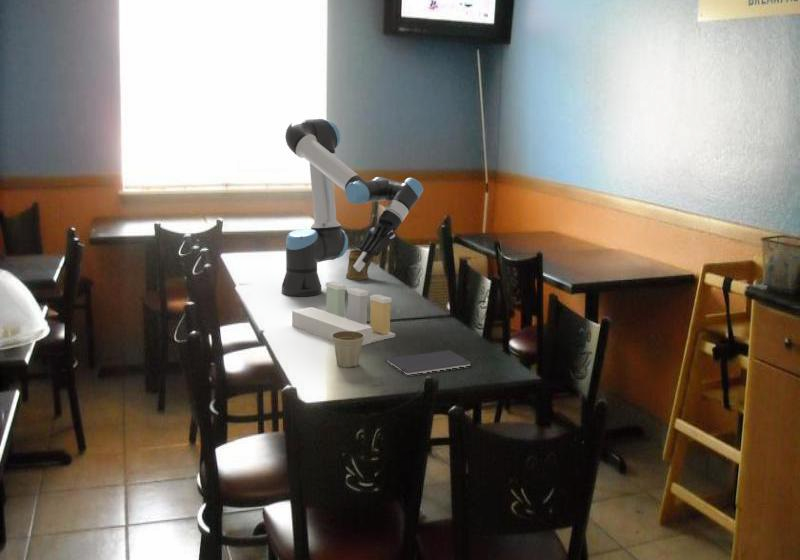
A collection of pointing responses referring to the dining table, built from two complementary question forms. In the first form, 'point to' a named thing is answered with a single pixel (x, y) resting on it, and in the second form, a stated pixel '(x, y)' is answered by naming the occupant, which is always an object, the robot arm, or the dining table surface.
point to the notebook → (428, 362)
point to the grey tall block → (357, 305)
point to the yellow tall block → (380, 313)
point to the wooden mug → (352, 271)
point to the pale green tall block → (335, 298)
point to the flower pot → (347, 347)
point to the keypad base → (333, 325)
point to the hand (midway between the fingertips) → (356, 269)
